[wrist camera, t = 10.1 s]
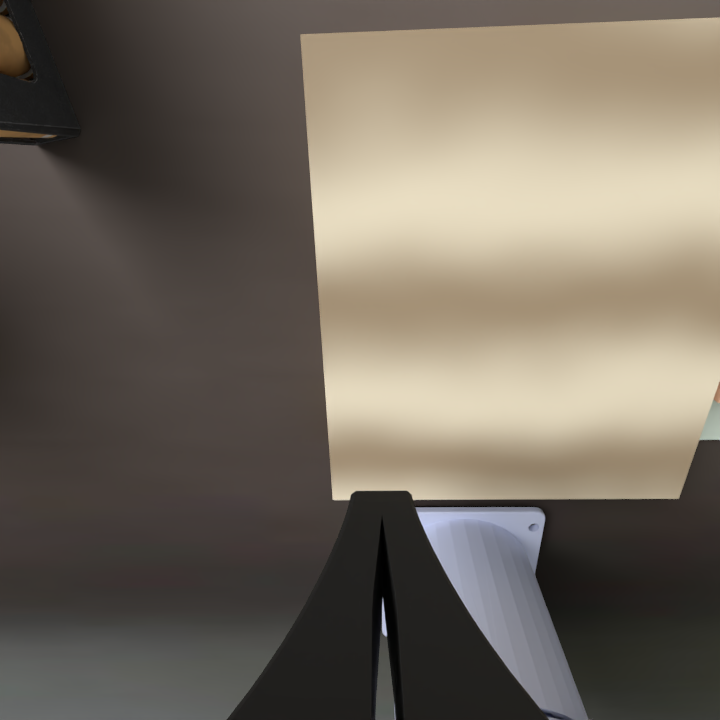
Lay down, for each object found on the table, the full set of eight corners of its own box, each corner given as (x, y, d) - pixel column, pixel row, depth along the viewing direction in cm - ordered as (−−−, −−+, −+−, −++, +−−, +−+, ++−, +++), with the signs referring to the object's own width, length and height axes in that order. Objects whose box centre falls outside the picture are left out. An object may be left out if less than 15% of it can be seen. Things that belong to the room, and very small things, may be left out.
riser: (639, 452, 21) (678, 498, 19) (337, 455, 22) (332, 499, 19) (759, 36, 14) (847, 12, 12) (313, 53, 15) (300, 34, 12)
